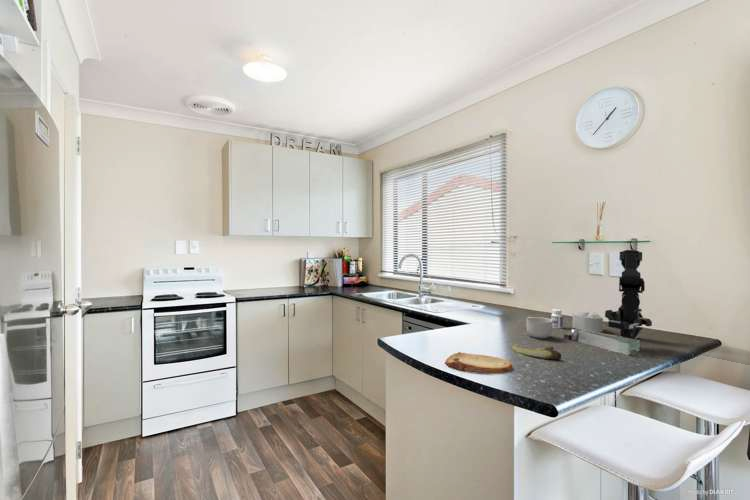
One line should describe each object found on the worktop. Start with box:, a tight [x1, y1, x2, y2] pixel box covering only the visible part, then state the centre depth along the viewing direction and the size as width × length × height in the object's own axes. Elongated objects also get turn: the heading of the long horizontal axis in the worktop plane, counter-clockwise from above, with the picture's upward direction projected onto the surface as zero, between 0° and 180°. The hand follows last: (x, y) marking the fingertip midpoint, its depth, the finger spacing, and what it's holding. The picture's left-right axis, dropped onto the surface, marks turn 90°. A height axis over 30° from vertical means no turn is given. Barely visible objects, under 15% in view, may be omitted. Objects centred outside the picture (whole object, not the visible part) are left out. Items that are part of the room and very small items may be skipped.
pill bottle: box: [550, 308, 564, 329], centre depth 178 cm, size 5×5×9 cm
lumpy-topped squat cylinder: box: [572, 310, 604, 332], centre depth 174 cm, size 10×13×9 cm
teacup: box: [525, 316, 553, 339], centre depth 160 cm, size 14×11×8 cm
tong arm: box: [581, 330, 641, 352], centre depth 146 cm, size 20×1×4 cm, turn 43°
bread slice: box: [444, 351, 514, 374], centre depth 118 cm, size 18×18×4 cm
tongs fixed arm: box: [563, 328, 631, 356], centre depth 145 cm, size 26×4×4 cm, turn 22°
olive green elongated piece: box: [511, 343, 562, 361], centre depth 133 cm, size 20×10×3 cm, turn 39°
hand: (629, 344), depth 143 cm, fingers closed
